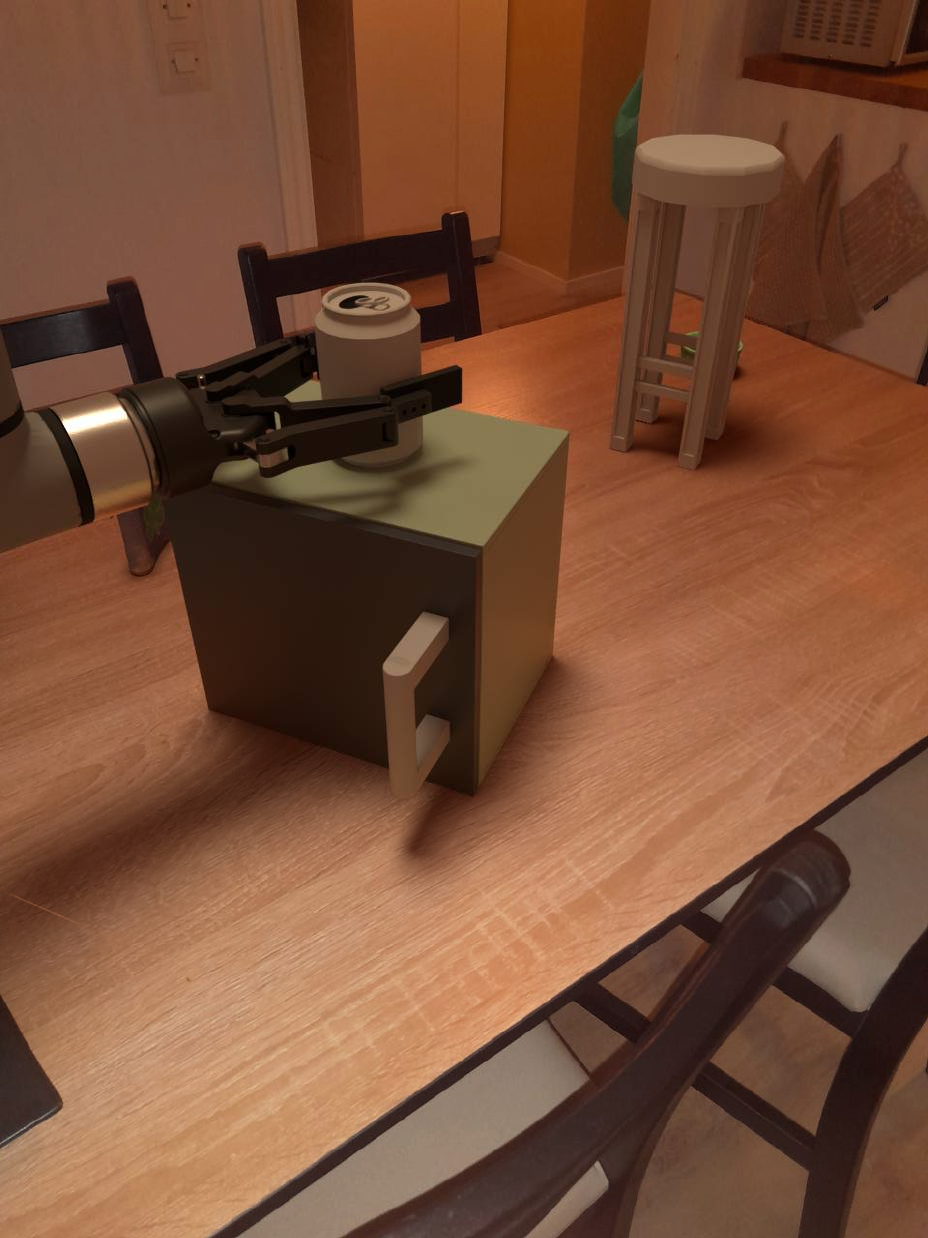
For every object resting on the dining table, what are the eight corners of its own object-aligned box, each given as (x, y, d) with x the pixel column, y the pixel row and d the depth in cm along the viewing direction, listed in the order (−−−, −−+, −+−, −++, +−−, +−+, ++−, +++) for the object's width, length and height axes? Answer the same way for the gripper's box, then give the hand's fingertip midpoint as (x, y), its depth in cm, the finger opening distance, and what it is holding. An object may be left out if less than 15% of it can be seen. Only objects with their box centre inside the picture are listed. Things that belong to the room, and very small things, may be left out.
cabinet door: (436, 861, 73) (431, 617, 58) (158, 761, 81) (93, 525, 66) (478, 788, 79) (482, 549, 64) (214, 701, 86) (165, 472, 72)
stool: (704, 481, 118) (760, 173, 96) (588, 450, 124) (615, 154, 102) (742, 430, 128) (800, 142, 107) (633, 404, 134) (667, 127, 113)
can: (358, 419, 79) (348, 270, 71) (440, 438, 76) (438, 286, 69) (307, 459, 73) (290, 303, 66) (394, 481, 71) (386, 321, 63)
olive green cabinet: (479, 787, 79) (483, 545, 64) (216, 701, 87) (167, 469, 72) (552, 656, 92) (570, 430, 77) (318, 591, 100) (293, 376, 85)
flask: (149, 577, 102) (127, 489, 95) (122, 576, 102) (98, 487, 95) (179, 530, 109) (161, 445, 102) (154, 528, 109) (134, 443, 103)
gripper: (91, 437, 72) (353, 363, 82) (215, 570, 58) (509, 462, 69) (66, 340, 67) (347, 275, 78) (194, 460, 54) (512, 362, 64)
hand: (423, 363), depth 73 cm, fingers open, 8 cm apart
